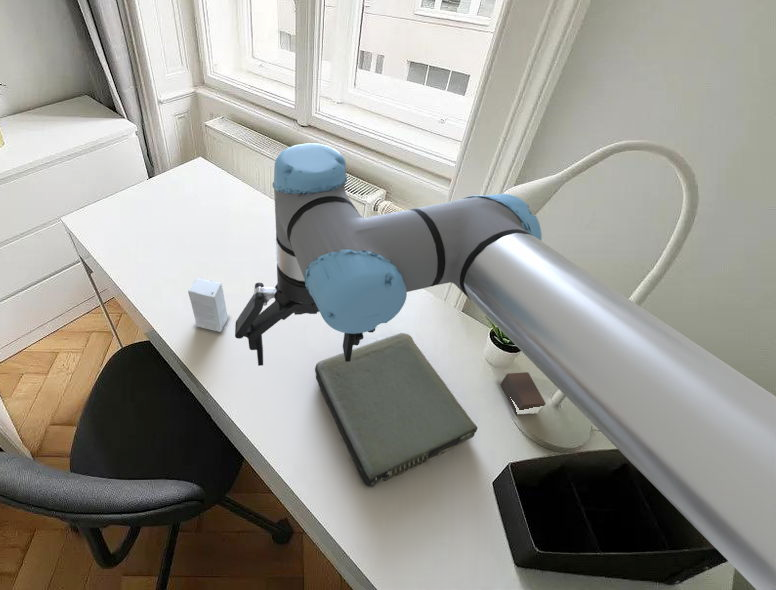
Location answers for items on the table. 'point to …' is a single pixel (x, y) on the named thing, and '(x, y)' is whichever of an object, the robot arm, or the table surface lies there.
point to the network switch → (391, 407)
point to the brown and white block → (522, 391)
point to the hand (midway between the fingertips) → (303, 355)
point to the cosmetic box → (208, 304)
